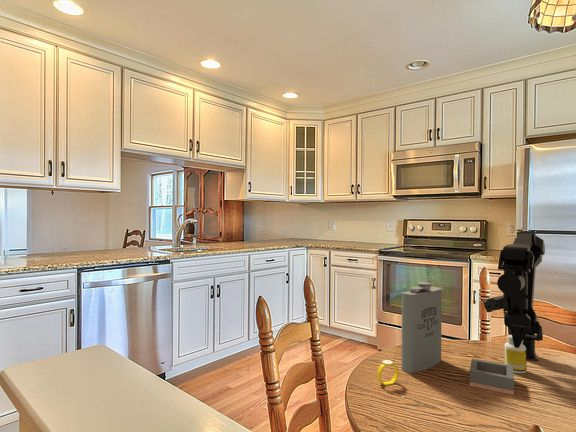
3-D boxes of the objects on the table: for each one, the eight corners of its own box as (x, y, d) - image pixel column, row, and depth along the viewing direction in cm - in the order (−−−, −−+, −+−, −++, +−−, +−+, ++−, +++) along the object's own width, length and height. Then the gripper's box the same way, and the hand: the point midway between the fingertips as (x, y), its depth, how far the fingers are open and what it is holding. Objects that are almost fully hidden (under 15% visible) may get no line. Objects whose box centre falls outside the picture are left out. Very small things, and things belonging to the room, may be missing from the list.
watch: (381, 388, 95) (380, 366, 95) (375, 384, 98) (374, 362, 98) (400, 383, 97) (399, 361, 97) (394, 379, 100) (393, 357, 100)
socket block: (471, 372, 105) (471, 358, 105) (512, 380, 100) (512, 365, 100) (469, 385, 96) (469, 370, 97) (514, 395, 92) (514, 379, 92)
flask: (413, 375, 103) (413, 286, 103) (399, 369, 106) (399, 284, 107) (445, 361, 113) (446, 280, 114) (432, 356, 117) (432, 278, 117)
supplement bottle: (530, 374, 103) (529, 340, 104) (509, 373, 104) (508, 339, 104) (521, 367, 109) (520, 334, 109) (501, 366, 110) (500, 333, 110)
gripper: (485, 282, 119) (485, 330, 119) (483, 292, 103) (483, 347, 103) (526, 285, 113) (526, 335, 113) (531, 296, 97) (531, 355, 97)
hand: (515, 342), depth 107 cm, fingers open, 9 cm apart
